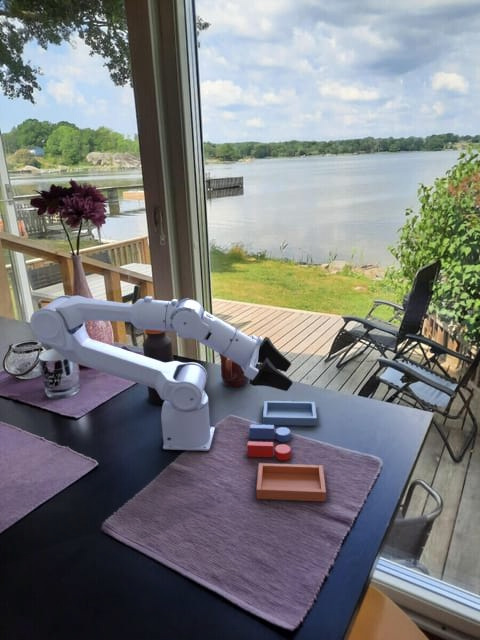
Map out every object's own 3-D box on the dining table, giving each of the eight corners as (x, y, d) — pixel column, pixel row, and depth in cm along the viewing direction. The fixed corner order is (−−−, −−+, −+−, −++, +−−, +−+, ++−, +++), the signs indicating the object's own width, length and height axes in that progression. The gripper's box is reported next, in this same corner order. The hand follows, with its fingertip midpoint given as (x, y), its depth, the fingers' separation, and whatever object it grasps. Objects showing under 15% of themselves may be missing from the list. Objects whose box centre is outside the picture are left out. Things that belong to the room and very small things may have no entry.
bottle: (143, 402, 107) (134, 325, 101) (158, 389, 113) (151, 315, 106) (167, 407, 105) (159, 328, 98) (181, 393, 111) (175, 318, 104)
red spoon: (247, 459, 85) (246, 447, 84) (248, 449, 88) (248, 438, 87) (290, 460, 84) (290, 449, 83) (290, 451, 87) (290, 439, 86)
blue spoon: (249, 441, 91) (249, 430, 90) (250, 432, 93) (250, 422, 93) (290, 442, 90) (290, 431, 89) (290, 433, 93) (290, 423, 92)
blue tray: (262, 424, 96) (262, 417, 96) (264, 407, 103) (264, 400, 102) (316, 425, 95) (316, 418, 94) (314, 408, 102) (314, 401, 101)
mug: (223, 374, 120) (221, 339, 117) (255, 376, 118) (254, 341, 115) (212, 396, 109) (209, 358, 106) (246, 398, 107) (245, 360, 104)
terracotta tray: (256, 498, 75) (256, 489, 74) (258, 471, 81) (258, 462, 81) (325, 501, 74) (326, 492, 73) (322, 473, 80) (322, 465, 80)
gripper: (236, 341, 76) (302, 379, 78) (242, 312, 89) (298, 345, 91) (216, 371, 78) (280, 408, 80) (225, 339, 92) (280, 370, 94)
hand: (289, 376), depth 86 cm, fingers open, 7 cm apart
